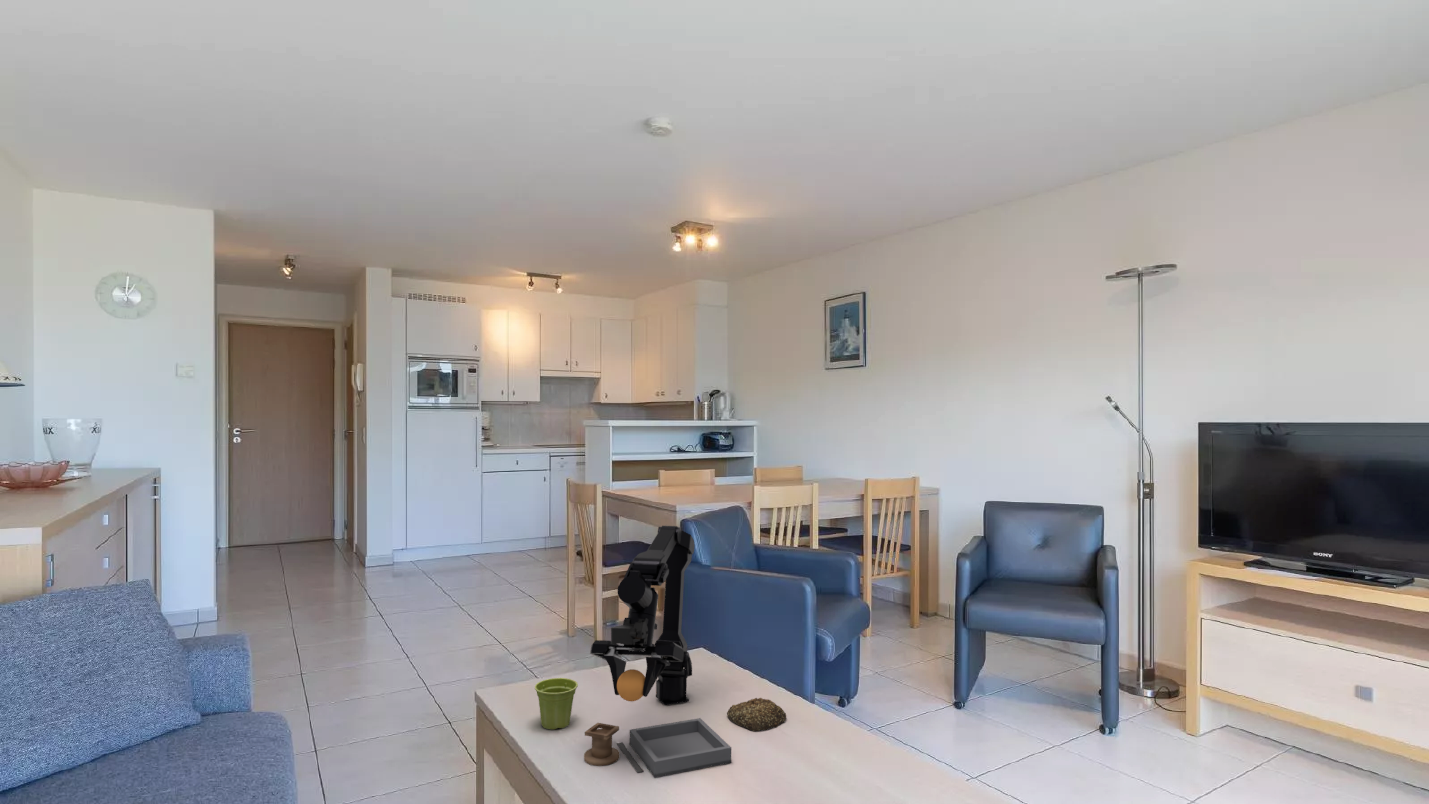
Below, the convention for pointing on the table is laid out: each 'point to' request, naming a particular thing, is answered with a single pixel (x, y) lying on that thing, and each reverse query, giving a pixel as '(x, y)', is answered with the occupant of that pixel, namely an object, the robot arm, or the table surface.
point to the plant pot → (555, 701)
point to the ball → (631, 685)
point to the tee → (601, 745)
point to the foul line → (630, 757)
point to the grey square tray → (679, 747)
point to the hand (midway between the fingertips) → (630, 695)
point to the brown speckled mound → (757, 714)
